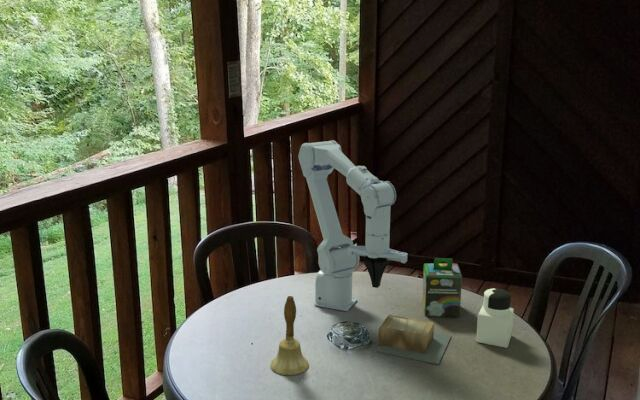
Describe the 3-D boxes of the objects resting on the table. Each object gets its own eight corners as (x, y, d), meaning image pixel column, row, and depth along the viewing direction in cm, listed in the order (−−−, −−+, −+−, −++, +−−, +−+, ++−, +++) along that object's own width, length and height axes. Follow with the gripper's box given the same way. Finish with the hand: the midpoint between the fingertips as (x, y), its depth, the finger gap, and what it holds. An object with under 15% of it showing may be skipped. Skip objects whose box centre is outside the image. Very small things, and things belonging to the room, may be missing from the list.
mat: (376, 352, 133) (376, 350, 133) (394, 326, 145) (394, 325, 145) (438, 364, 127) (438, 363, 127) (451, 336, 140) (451, 335, 140)
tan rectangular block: (378, 328, 135) (426, 337, 130) (388, 314, 142) (434, 322, 138) (378, 344, 136) (425, 353, 131) (388, 329, 143) (433, 338, 139)
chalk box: (456, 303, 159) (459, 251, 155) (460, 318, 150) (464, 263, 146) (421, 302, 159) (423, 250, 156) (423, 316, 151) (426, 262, 147)
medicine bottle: (511, 335, 141) (515, 288, 138) (507, 348, 134) (511, 300, 131) (481, 329, 144) (484, 283, 141) (475, 342, 137) (479, 294, 134)
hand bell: (301, 353, 132) (301, 287, 128) (314, 371, 125) (314, 301, 121) (266, 359, 129) (264, 292, 126) (276, 378, 122) (275, 307, 118)
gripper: (343, 233, 139) (342, 287, 143) (402, 241, 134) (400, 296, 137) (353, 225, 146) (352, 277, 149) (410, 232, 140) (408, 286, 143)
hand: (376, 286), depth 143 cm, fingers closed
